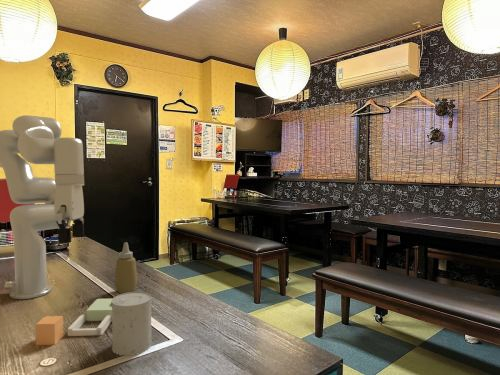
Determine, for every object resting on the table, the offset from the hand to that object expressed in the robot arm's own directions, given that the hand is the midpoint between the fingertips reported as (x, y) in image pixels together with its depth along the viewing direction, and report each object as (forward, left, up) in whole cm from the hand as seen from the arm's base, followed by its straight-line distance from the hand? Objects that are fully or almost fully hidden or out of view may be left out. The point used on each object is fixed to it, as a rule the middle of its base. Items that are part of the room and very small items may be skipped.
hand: (71, 239), depth 101 cm
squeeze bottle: (+9, +23, -24) cm, 35 cm away
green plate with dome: (+10, -1, -24) cm, 26 cm away
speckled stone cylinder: (+21, -16, -24) cm, 36 cm away
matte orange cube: (-1, -12, -24) cm, 27 cm away
